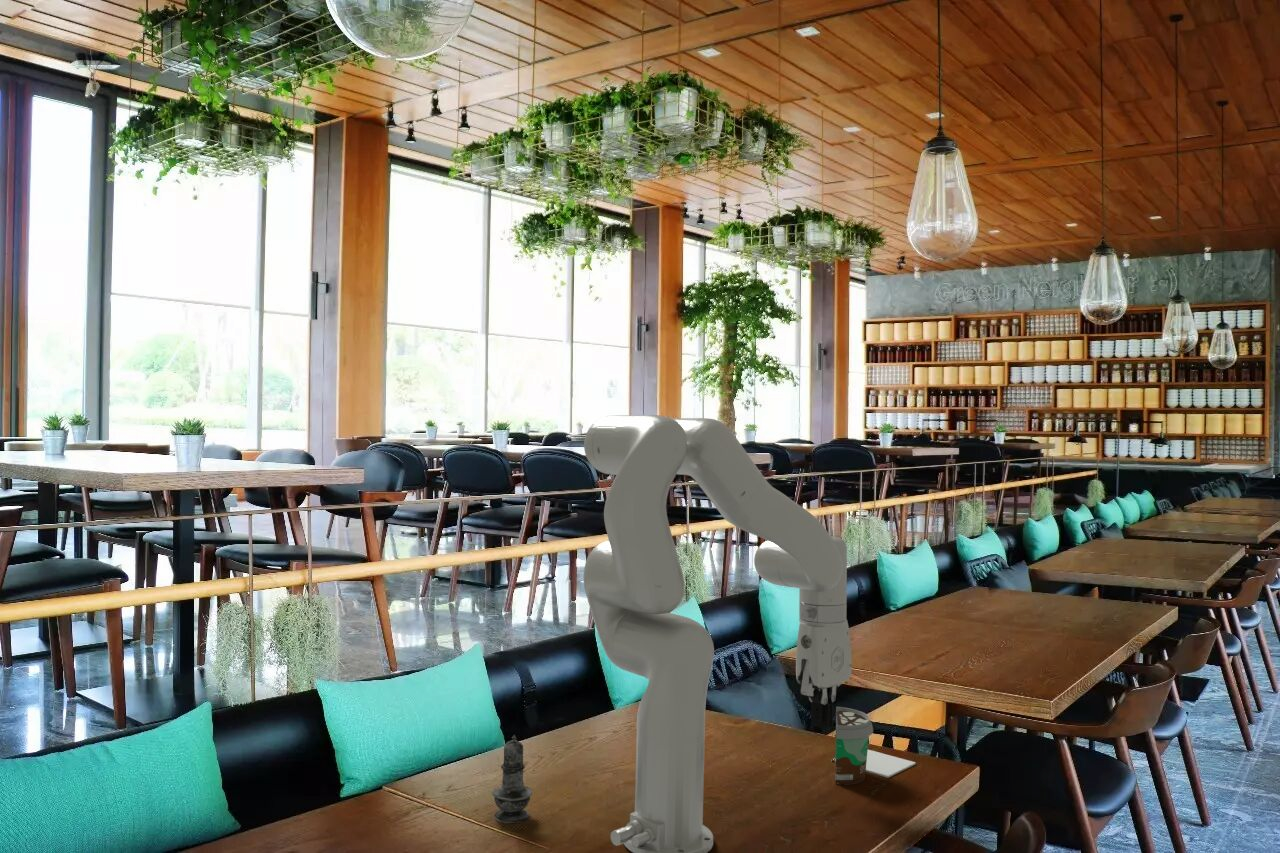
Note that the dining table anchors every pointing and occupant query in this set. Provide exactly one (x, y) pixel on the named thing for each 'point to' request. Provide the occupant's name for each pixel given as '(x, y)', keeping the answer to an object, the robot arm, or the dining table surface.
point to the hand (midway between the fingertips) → (822, 725)
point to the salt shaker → (512, 786)
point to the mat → (885, 764)
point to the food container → (851, 745)
